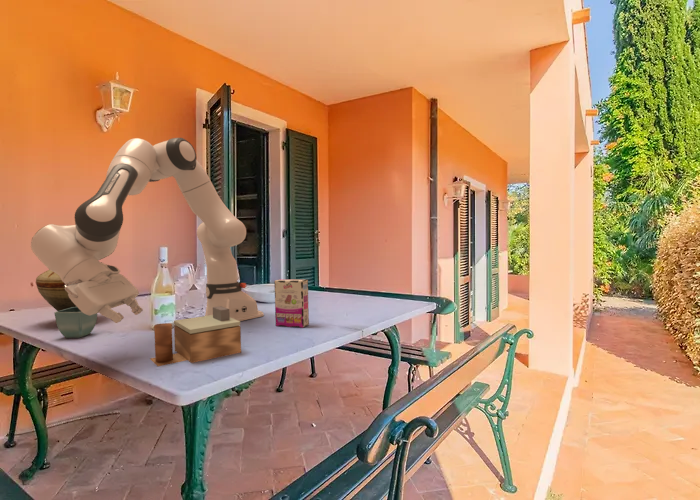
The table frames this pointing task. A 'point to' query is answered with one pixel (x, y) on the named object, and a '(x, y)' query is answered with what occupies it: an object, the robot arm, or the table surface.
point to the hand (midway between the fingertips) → (130, 316)
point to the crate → (204, 344)
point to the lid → (208, 321)
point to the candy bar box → (291, 303)
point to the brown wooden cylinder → (163, 342)
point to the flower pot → (74, 322)
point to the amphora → (54, 290)
